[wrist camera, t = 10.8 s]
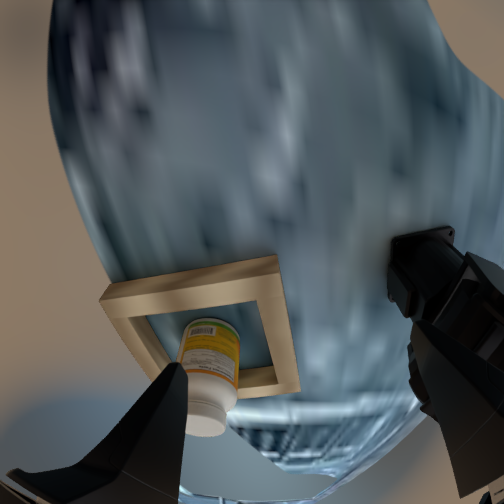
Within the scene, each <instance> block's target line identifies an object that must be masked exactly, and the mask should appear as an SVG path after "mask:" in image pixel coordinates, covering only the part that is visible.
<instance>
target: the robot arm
mask: <svg viewBox="0 0 504 504" xmlns="http://www.w3.org/2000/svg"><path fill="white" fill-rule="evenodd" d="M449 232H450V233H449ZM454 234H455V230H454V229H453V228H452V227H451V226H447V227H442V228H437V229H432V230H427V231H422V232H417V233H412V234H407V235H402V236H397V237H394V238H393V240H392V242H391V262H390V263H389V265H388V280H387V289H388V299H389V300H390V302H396V304H397V306H398V307H399V309H400V311H401V313H402V314H403V316H404V317H405V318H409V317H410V318H411V320H412V322H413V326H412V331H411V335H410V340H411V342H410V343H409V345H408V346H407V349H408V357H409V365H408V366H409V371H410V377H411V378H410V379H409V385H410V387H411V389H412V391H413V392H414V394H415V396H416V397H417V399H418V400H419V401H420V402H421V403H422V404H423V405H422V406H421V407H420V410H421V411H422V412H424V413H425V414H427V415H429V416H431V417H432V418H433V419H434V420H435V421H437V422H438V423H439V425H440V427H441V431H442V434H443V437H444V440H445V443H446V447H447V450H448V453H449V456H450V460H451V464H452V468H453V472H454V476H455V479H456V484H457V488H458V492H459V496H460V499H461V498H463V497H465V496H467V495H469V494H471V493H473V492H475V491H477V490H479V489H481V488H483V487H484V486H486V485H488V487H489V491H488V492H486V493H485V494H484V495H483V496H482V499H481V501H480V502H479V504H504V270H503V269H502V268H501V267H499V266H498V265H497V264H495V263H493V262H490V261H488V260H486V259H484V258H481V257H479V256H477V255H475V254H472V253H470V252H468V251H467V252H466V254H465V256H464V255H462V254H461V253H460V252H459V251H458V250H457V249H456V248H455V247H454V246H453V242H454ZM398 241H399V243H398V244H397V245H396V243H397V242H398ZM392 297H393V298H392ZM187 415H188V375H187V373H186V371H185V370H184V368H183V367H182V365H181V363H179V362H171V363H169V364H168V365H167V366H166V367H165V368H164V369H163V371H162V372H161V373H160V374H159V375H158V376H157V378H156V379H155V380H154V381H153V382H152V384H151V385H150V386H149V387H148V388H147V390H146V391H145V392H144V393H143V394H142V395H141V397H140V398H139V399H138V400H137V401H136V402H135V404H134V405H133V406H132V407H131V408H130V409H129V411H128V412H127V413H126V414H125V415H124V417H123V418H122V419H121V420H120V421H119V423H118V424H117V425H116V426H115V427H114V428H113V429H112V430H111V431H110V433H109V434H108V435H107V436H106V437H105V438H104V439H103V440H102V441H101V442H100V443H99V444H98V445H97V446H96V447H95V448H94V449H92V450H91V452H89V453H88V454H87V455H86V456H85V457H84V458H83V459H82V460H80V461H79V462H78V463H76V464H74V465H72V466H70V467H65V468H61V469H55V470H50V471H44V472H38V473H27V472H24V471H23V470H21V469H19V468H16V469H12V470H10V471H8V472H7V473H6V476H8V477H9V478H10V479H12V480H13V481H15V482H16V483H18V484H19V485H21V486H22V487H24V488H25V489H27V490H28V491H30V492H31V493H33V494H35V495H36V496H37V500H34V499H32V498H30V497H28V496H27V495H25V494H23V493H21V492H19V491H18V490H16V489H14V488H13V487H11V486H9V485H8V484H6V483H4V482H3V481H1V480H0V504H178V496H179V486H180V475H181V466H182V456H183V448H184V439H185V431H186V423H187Z"/></svg>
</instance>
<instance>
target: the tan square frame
mask: <svg viewBox="0 0 504 504" xmlns="http://www.w3.org/2000/svg"><path fill="white" fill-rule="evenodd" d="M254 300H257V304H258V308H259V312H260V316H261V319H262V323H263V327H264V331H265V335H266V338H267V342H268V346H269V350H270V353H271V357H272V361H273V365H274V366H269V367H261V368H253V369H244V370H239V372H238V390H237V399H243V398H254V397H263V396H272V395H280V394H287V393H294V392H300V391H301V390H300V382H299V374H298V368H297V362H296V356H295V350H294V344H293V339H292V333H291V327H290V322H289V316H288V311H287V305H286V300H285V294H284V289H283V283H282V278H281V273H280V268H279V262H278V257H277V255H272V256H267V257H261V258H256V259H250V260H245V261H239V262H234V263H228V264H222V265H217V266H211V267H205V268H200V269H194V270H188V271H183V272H177V273H171V274H166V275H160V276H154V277H148V278H142V279H137V280H131V281H125V282H119V283H113V284H110V285H109V286H108V288H107V289H106V290H105V292H104V294H103V295H102V296H101V298H100V299H99V302H100V304H101V306H102V308H103V309H104V311H105V313H106V314H107V316H108V318H109V320H110V321H111V323H112V324H113V326H114V328H115V329H116V331H117V332H118V334H119V336H120V337H121V339H122V340H123V342H124V343H125V345H126V346H127V348H128V349H129V351H130V352H131V354H132V355H133V357H134V358H135V359H136V361H137V362H138V364H139V365H140V366H141V368H142V369H143V371H144V372H145V373H146V375H147V376H148V377H149V379H150V380H151V381H152V382H153V381H154V380H155V379H156V378H157V376H158V375H159V374H160V373H161V372H162V371H163V369H164V368H165V367H166V366H167V365H168V364H169V363H171V362H172V361H171V360H170V358H169V357H168V355H167V353H166V352H165V350H164V348H163V347H162V345H161V343H160V341H159V340H158V338H157V336H156V335H155V333H154V331H153V329H152V328H151V326H150V324H149V322H148V320H147V318H146V317H145V315H152V314H161V313H169V312H177V311H185V310H193V309H200V308H208V307H215V306H222V305H228V304H235V303H242V302H248V301H254Z"/></svg>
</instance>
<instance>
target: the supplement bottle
mask: <svg viewBox="0 0 504 504" xmlns="http://www.w3.org/2000/svg"><path fill="white" fill-rule="evenodd" d="M239 353H240V338H239V335H238V333H237V331H236V330H235V329H234V328H233V327H232V326H231V325H230V324H228V323H226V322H224V321H222V320H219V319H214V318H201V319H197V320H194V321H192V322H191V323H190V324H188V325H187V327H186V328H185V330H184V333H183V336H182V340H181V344H180V347H179V351H178V355H177V359H176V362H179V363H181V365H182V367H183V368H184V370H185V371H186V373H187V375H188V415H187V423H186V431H185V433H187V434H190V435H194V436H200V437H212V436H217V435H220V434H222V433H223V432H224V431H225V427H226V416H227V414H226V413H227V412H228V411H230V410H231V409H232V408H233V407H234V406H235V404H236V401H237V390H238V372H239Z"/></svg>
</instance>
